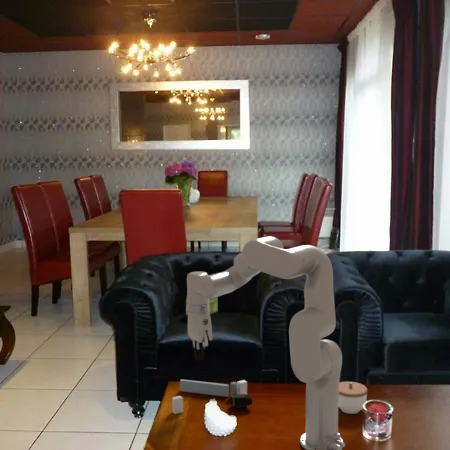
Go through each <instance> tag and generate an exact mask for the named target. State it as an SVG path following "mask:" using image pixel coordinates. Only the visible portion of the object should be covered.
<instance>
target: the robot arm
mask: <svg viewBox="0 0 450 450" xmlns="http://www.w3.org/2000/svg"><path fill="white" fill-rule="evenodd" d="M261 272H262V273H265V274H268V275H270V276H273V277H277V278H278V279H284V280H291V279H294V278H298V277H301V276H304V275H305V277H306V280H305V283H304V288H303V296H304V309H302V310H300V311H297V312H296V313H295V314H294V315H293V316H292V318H291V320H290V323H289V328H288V335H289V353H290V354H289V355H290V365H291V368H292V371H293V374H294V376H295V377H296V378H297V379H298V380H299V381H300V382H302V383H306V384H305V385H306V387H305V433H303V434H302V435H301V436H300V438H299V442H300V445H301V447H302V448H304V449H305V450H343V448H345V446H346V443H345V442H344V440H343V438H342V437H341V433H339V406H338V399H339V383H340V378H341V371H342V365H343V353H342V351H341V348H340V347H339V345H338V343H336V342H335V341H333V340H330V339H326V338H325V337H328V336H330V335H331V334H332V333H333V332H334V330H335V329H336V325H337V324H336V309H335V308H336V307H335V293H334V292H335V291H334V270H333V265H332V262H331V260H330V258H329V256H328V255H327V254H326V252H325V251H324V250H322V249H321V248H319V247H317V246H314V245H312V244H311V245H310V244H303V245H299V246H294V247H290V248H286V249H285V248H284V244H283V242H282V241H281V240H280V239H279V238H277V237H275V236H268V235H267V236H263V237H257V238H253V239H250V240H248V241H247V242H246V243H245V244H244V246H243V247H242V251H241V252H240V253H238V255H236V256H234V259H233V265H232V266H230V267H229V268H228V269H226V270H224V271H221V272H216V273H213V274H208V272H206V271H198V270H197V271H191V272H189V273H187V276H186V288H187V291H186V293H187V295H186V296H187V301H188V303H187V304H188V317H187V335H188V337H189V338H190V340H191V341H192V347H193V358H194V360H196V361H197V362H198V361H202V360H205V359H206V358H205V356H206V355H205V348H206V347H208V346H209V342H212V340H213V327H212V320H211V316H210V313H209V298H214V297H221V296H223V295H226V294H230V293H233V292H234V291H236V290H237V289H240V288H241V287H243V286H244V285H246V284H247V283H248V282H249V281H251V280H252V278H253V277H255V276H257V275H258V274H260V273H261ZM324 338H325V339H324ZM208 341H209V342H208Z"/></svg>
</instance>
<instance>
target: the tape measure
mask: <svg viewBox="0 0 450 450" xmlns="http://www.w3.org/2000/svg"><path fill="white" fill-rule="evenodd" d="M229 397H230V396H229ZM229 404H230V406H232V407H233V408H234V407H235V408H236V409H238V408H244V407H247V406H251V405H252V404H253V399H252V397H251V396H249V395H248V394H247V395H246V394H235V395H232V396H231V397H230V398H229Z"/></svg>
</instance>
